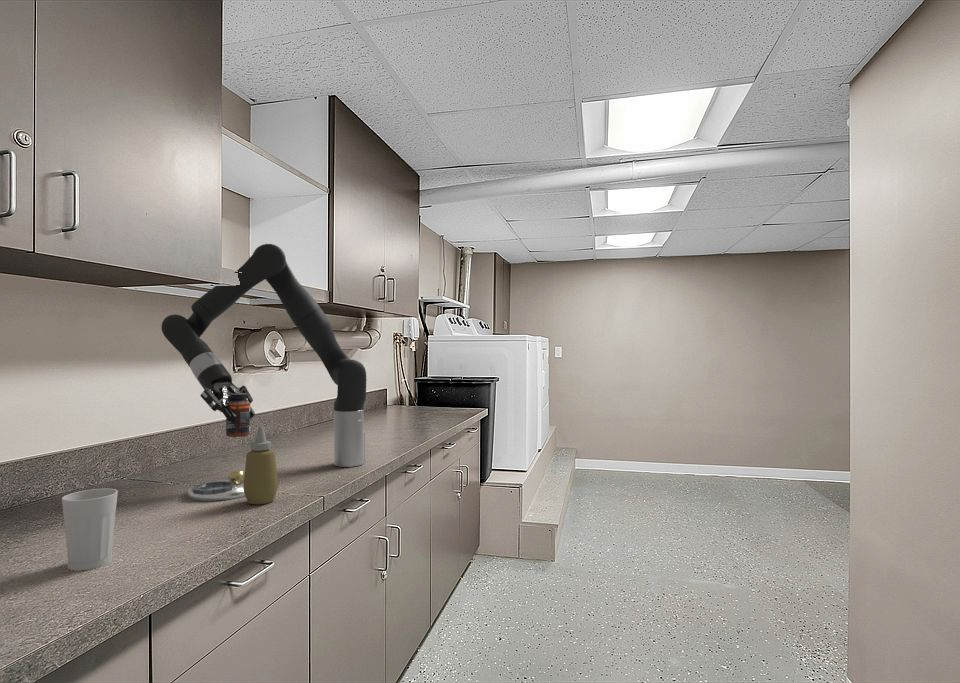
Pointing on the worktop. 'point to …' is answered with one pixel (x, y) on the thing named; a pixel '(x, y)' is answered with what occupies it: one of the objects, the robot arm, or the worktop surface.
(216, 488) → the carrier disc
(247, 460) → the squeeze bottle
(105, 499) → the cup
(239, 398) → the supplement bottle
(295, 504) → the worktop surface
